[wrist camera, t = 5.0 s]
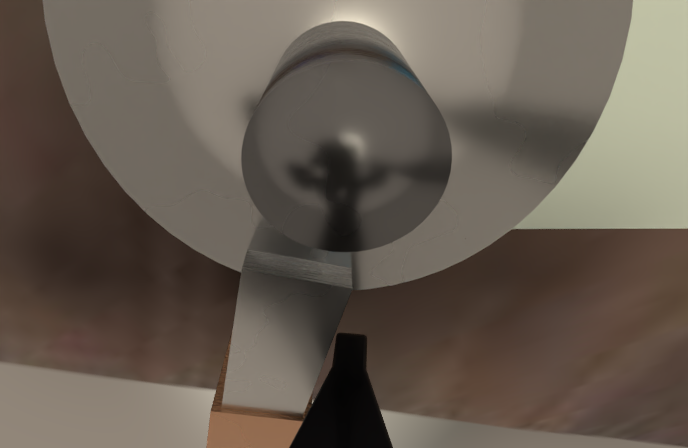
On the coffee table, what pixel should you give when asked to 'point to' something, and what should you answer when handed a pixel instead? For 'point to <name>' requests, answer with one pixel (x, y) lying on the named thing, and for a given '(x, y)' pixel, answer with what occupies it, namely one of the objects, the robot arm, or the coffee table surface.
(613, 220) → the mat
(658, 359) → the coffee table surface
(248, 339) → the silver round handled piece
